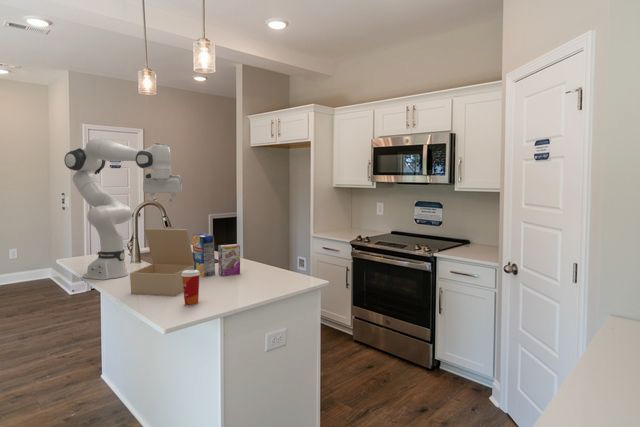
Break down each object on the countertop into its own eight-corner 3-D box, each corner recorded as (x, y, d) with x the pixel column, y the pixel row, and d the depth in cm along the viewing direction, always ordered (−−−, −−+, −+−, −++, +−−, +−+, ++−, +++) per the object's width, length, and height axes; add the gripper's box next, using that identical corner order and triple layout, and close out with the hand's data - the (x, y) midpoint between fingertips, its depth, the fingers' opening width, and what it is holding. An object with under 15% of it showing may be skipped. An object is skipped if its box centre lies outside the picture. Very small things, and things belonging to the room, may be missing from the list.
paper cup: (184, 300, 184) (183, 269, 183) (202, 300, 185) (201, 269, 183) (180, 306, 176) (179, 273, 175) (198, 305, 177) (197, 273, 175)
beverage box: (204, 277, 226) (202, 236, 224) (193, 273, 233) (192, 234, 231) (215, 274, 231) (214, 235, 228) (204, 271, 238) (203, 233, 236)
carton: (130, 294, 194) (129, 273, 193) (153, 282, 214) (153, 263, 213) (175, 296, 191) (174, 274, 190) (194, 284, 211) (193, 265, 210)
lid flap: (144, 229, 204) (148, 224, 208) (153, 263, 213) (157, 258, 217) (186, 229, 201) (190, 225, 205) (194, 264, 210) (197, 259, 214)
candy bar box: (221, 276, 227) (220, 246, 225) (218, 274, 231) (217, 245, 229) (240, 273, 233) (240, 244, 231) (237, 272, 237) (236, 243, 235)
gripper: (184, 175, 217) (185, 201, 218) (147, 175, 219) (148, 201, 221) (178, 175, 210) (179, 202, 212) (140, 175, 213) (141, 202, 214)
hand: (163, 202), depth 216 cm, fingers open, 8 cm apart
